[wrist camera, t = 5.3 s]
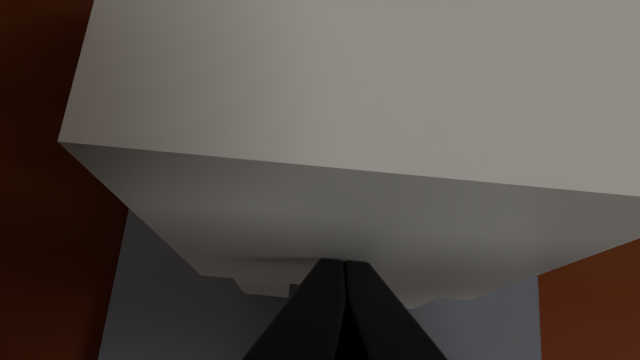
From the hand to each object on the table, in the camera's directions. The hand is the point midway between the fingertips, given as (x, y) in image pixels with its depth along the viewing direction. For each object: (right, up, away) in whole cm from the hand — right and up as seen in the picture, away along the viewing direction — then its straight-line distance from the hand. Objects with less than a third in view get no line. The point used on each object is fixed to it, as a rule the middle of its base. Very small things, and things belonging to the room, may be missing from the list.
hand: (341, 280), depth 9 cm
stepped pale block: (0, 0, +6) cm, 6 cm away
